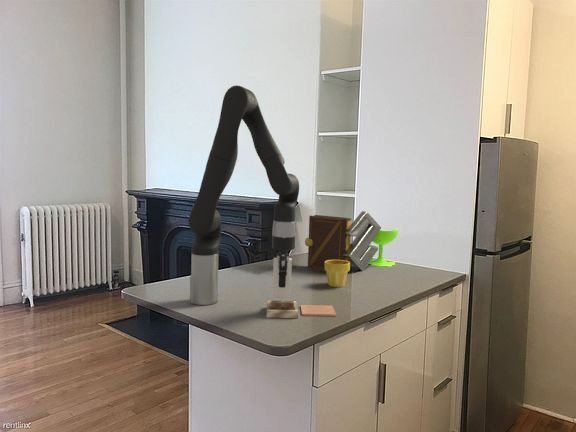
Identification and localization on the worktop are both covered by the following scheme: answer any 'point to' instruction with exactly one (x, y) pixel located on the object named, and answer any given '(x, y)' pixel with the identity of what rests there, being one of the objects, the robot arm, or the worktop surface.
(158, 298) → the worktop surface
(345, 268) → the plant pot
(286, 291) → the light grey flat block
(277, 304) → the walnut offcut left
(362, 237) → the emblem
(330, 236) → the wooden crate
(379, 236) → the wineglass
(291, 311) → the birch rack
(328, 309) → the terracotta tile
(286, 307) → the walnut offcut right
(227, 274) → the worktop surface
